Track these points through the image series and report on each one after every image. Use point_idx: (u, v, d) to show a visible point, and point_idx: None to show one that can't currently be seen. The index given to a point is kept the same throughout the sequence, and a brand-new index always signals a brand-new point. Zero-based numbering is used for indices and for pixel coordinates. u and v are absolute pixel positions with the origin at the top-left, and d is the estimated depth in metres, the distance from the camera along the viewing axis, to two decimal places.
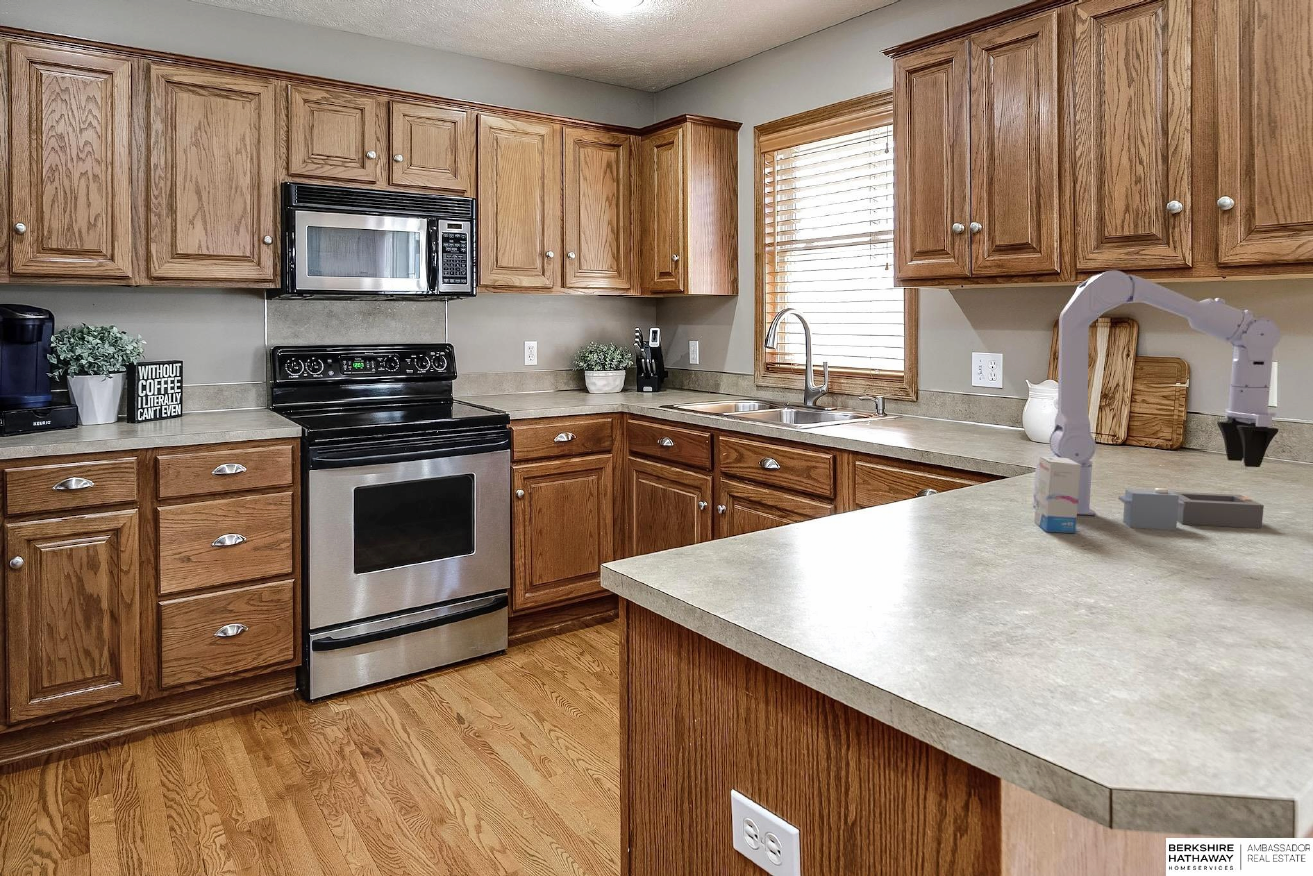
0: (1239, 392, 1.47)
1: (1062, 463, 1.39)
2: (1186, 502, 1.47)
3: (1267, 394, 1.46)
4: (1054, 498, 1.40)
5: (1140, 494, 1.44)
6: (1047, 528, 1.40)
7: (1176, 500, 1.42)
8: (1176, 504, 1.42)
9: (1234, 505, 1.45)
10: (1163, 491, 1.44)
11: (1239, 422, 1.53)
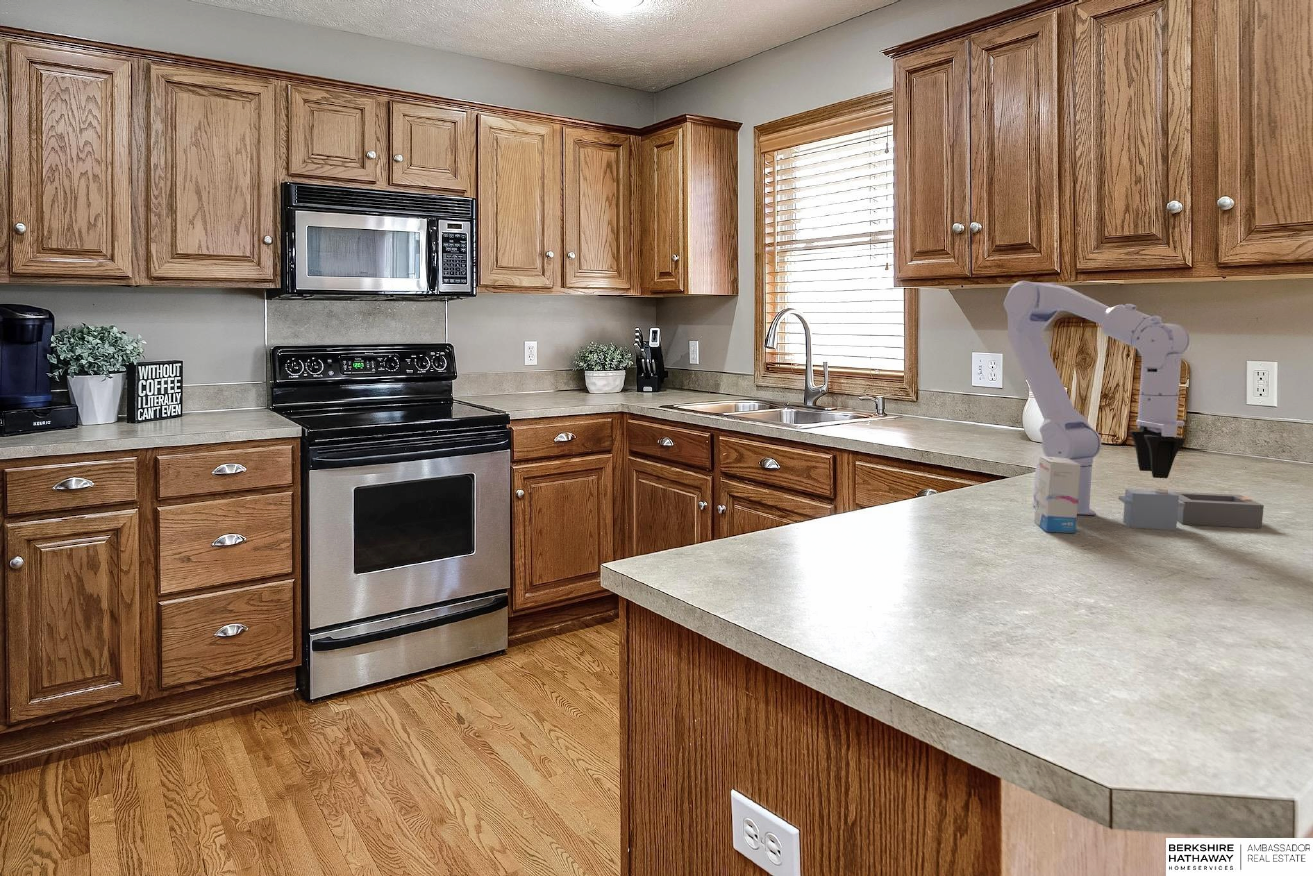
0: (1147, 400, 1.42)
1: (1062, 463, 1.39)
2: (1186, 502, 1.47)
3: (1175, 402, 1.41)
4: (1054, 498, 1.40)
5: (1140, 494, 1.44)
6: (1047, 528, 1.40)
7: (1176, 500, 1.42)
8: (1176, 504, 1.42)
9: (1234, 505, 1.45)
10: (1163, 491, 1.44)
11: (1150, 431, 1.48)
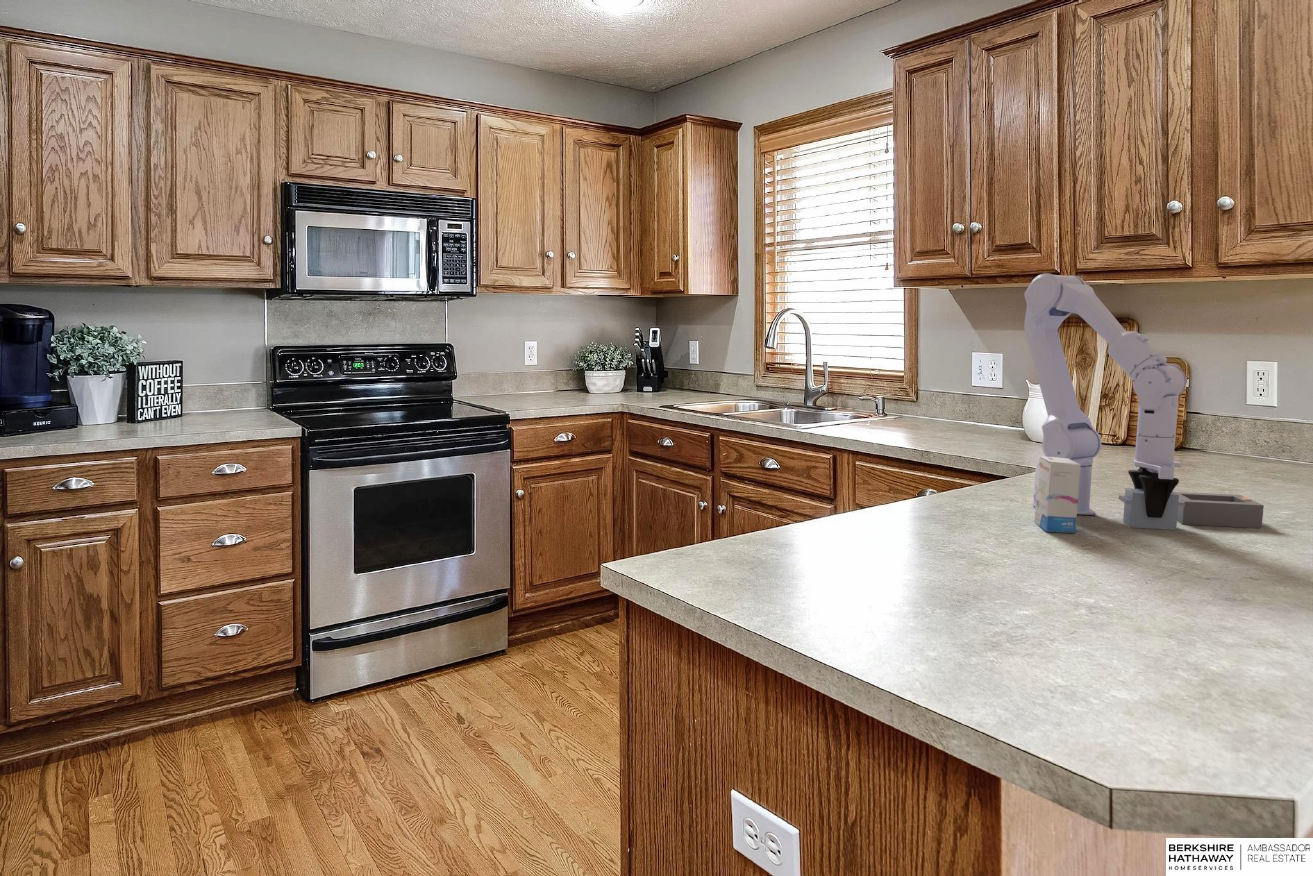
0: (1144, 441, 1.43)
1: (1062, 463, 1.39)
2: (1186, 502, 1.47)
3: (1172, 444, 1.42)
4: (1054, 498, 1.40)
5: (1140, 493, 1.44)
6: (1047, 528, 1.40)
7: (1176, 499, 1.42)
8: (1176, 503, 1.42)
9: (1234, 505, 1.45)
10: None
11: (1149, 472, 1.47)
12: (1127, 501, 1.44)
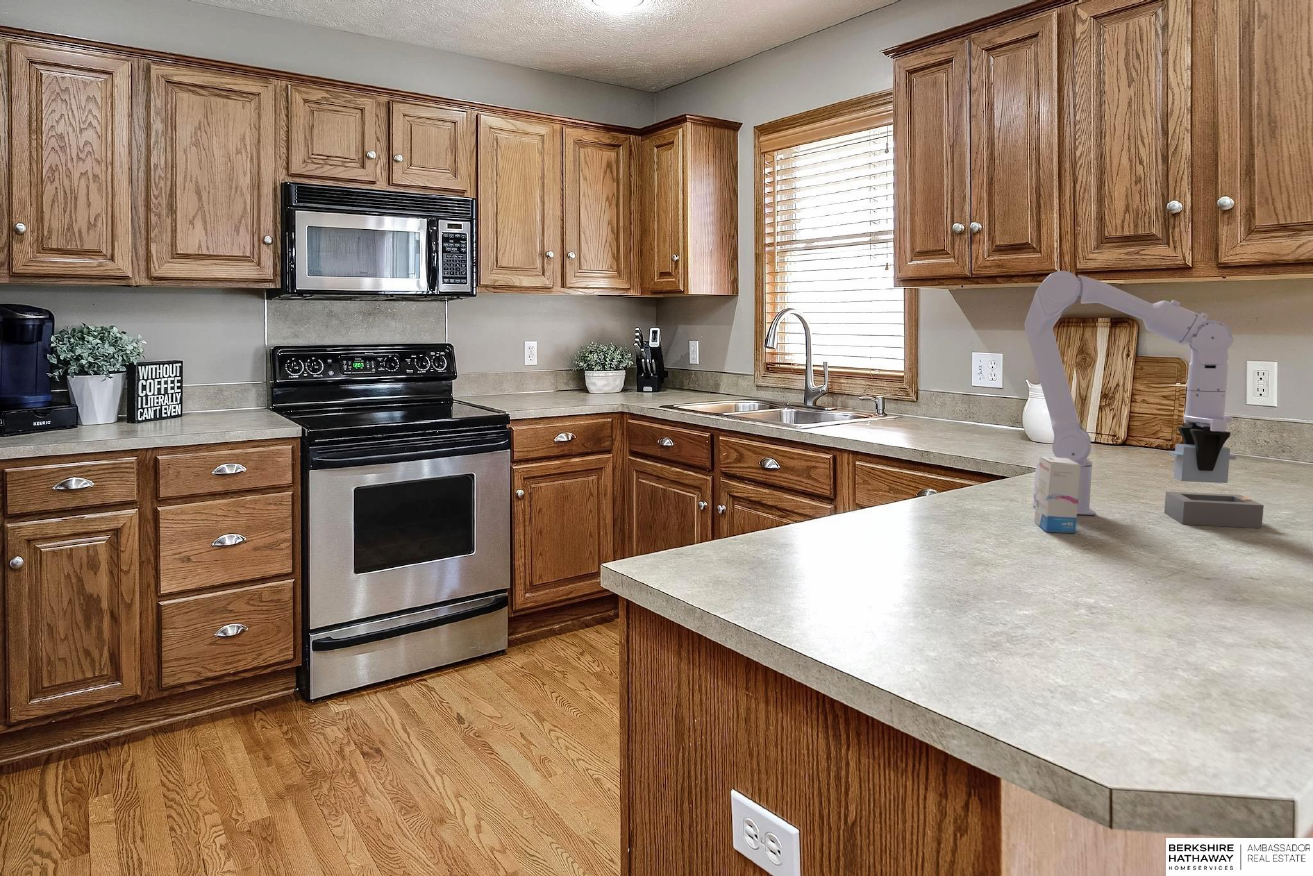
0: (1195, 396, 1.45)
1: (1062, 463, 1.39)
2: (1186, 502, 1.47)
3: (1223, 398, 1.44)
4: (1054, 498, 1.40)
5: (1191, 448, 1.46)
6: (1047, 528, 1.40)
7: (1227, 453, 1.45)
8: (1227, 457, 1.45)
9: (1234, 505, 1.45)
10: None
11: (1199, 427, 1.50)
12: (1178, 455, 1.47)
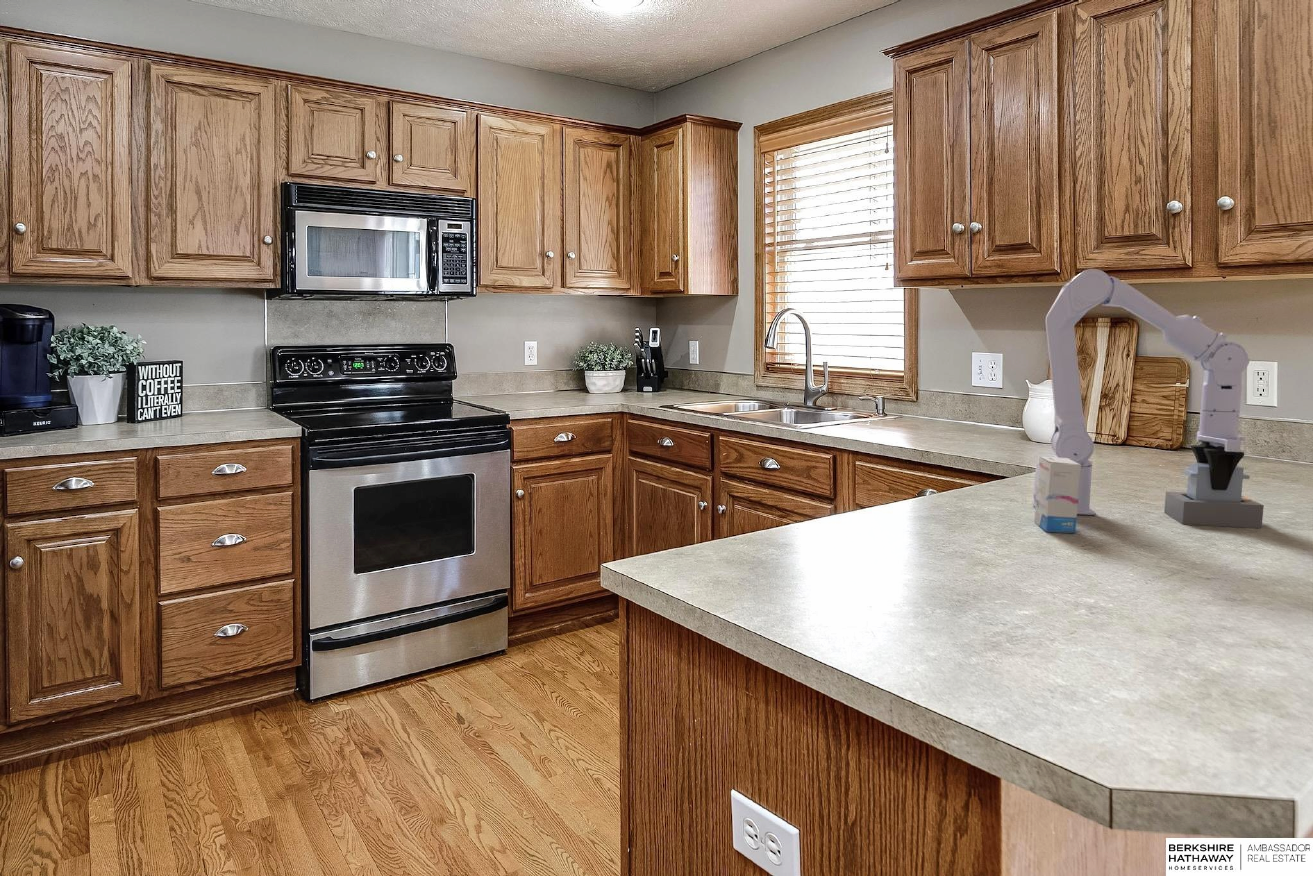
0: (1209, 416, 1.47)
1: (1062, 463, 1.39)
2: (1186, 502, 1.47)
3: (1237, 418, 1.46)
4: (1054, 498, 1.40)
5: (1205, 467, 1.48)
6: (1047, 528, 1.40)
7: (1241, 472, 1.46)
8: (1241, 476, 1.47)
9: (1234, 505, 1.45)
10: None
11: (1213, 446, 1.51)
12: (1192, 474, 1.48)
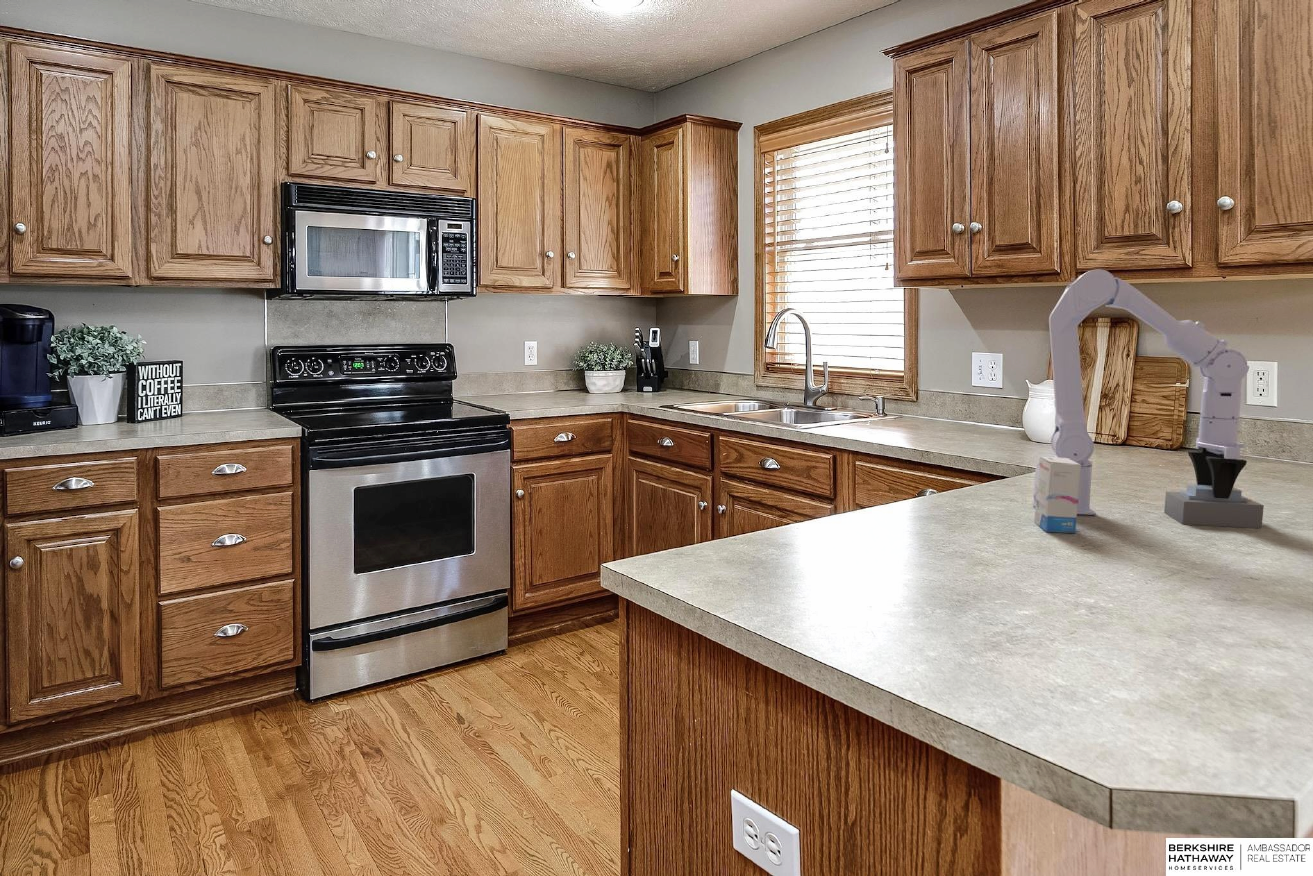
0: (1208, 423, 1.47)
1: (1062, 463, 1.39)
2: (1186, 502, 1.47)
3: (1236, 425, 1.46)
4: (1054, 498, 1.40)
5: (1203, 489, 1.48)
6: (1047, 528, 1.40)
7: (1239, 495, 1.47)
8: (1239, 499, 1.47)
9: (1234, 505, 1.45)
10: None
11: (1209, 452, 1.53)
12: (1191, 497, 1.49)
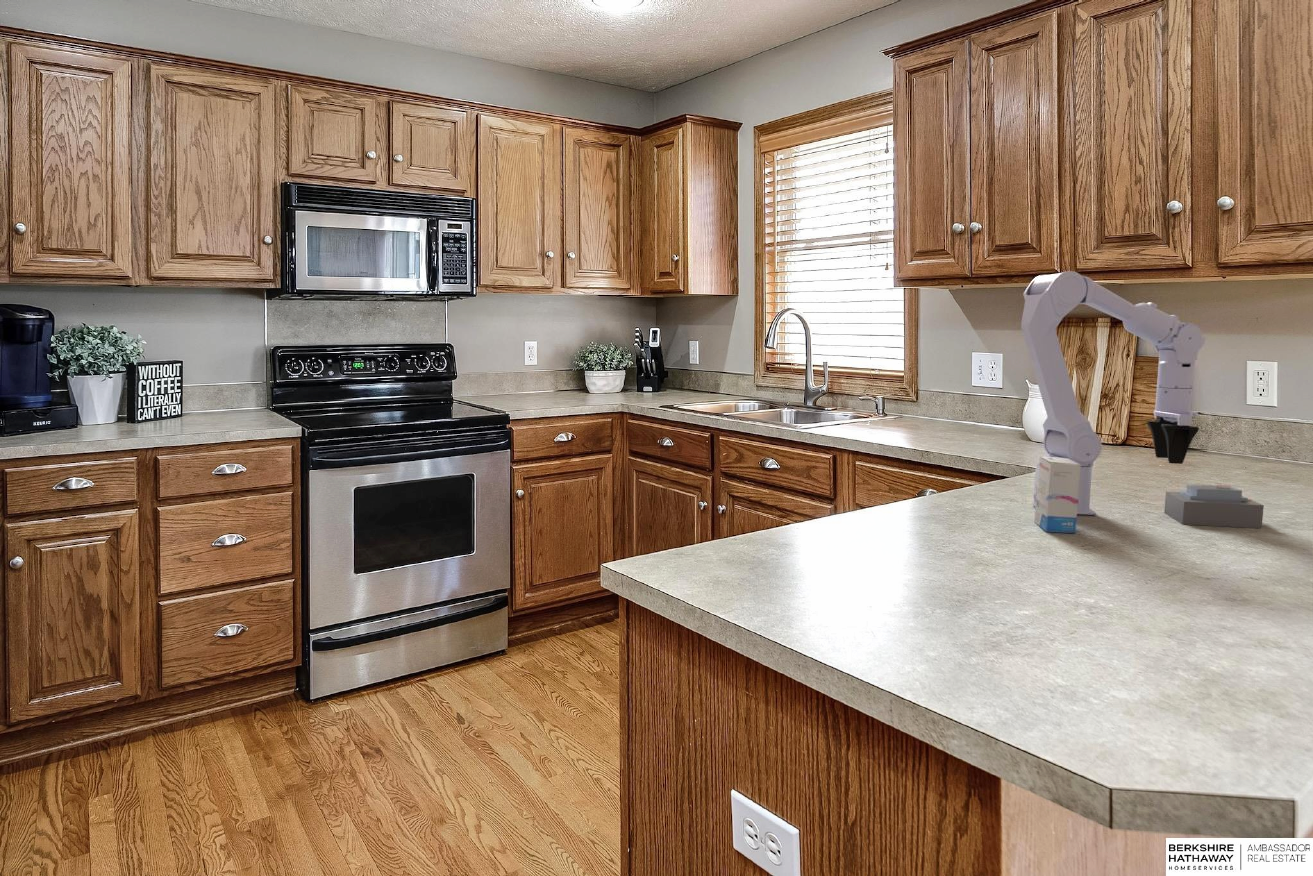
0: (1164, 393, 1.56)
1: (1062, 463, 1.39)
2: (1186, 502, 1.47)
3: (1190, 395, 1.54)
4: (1054, 498, 1.40)
5: (1204, 490, 1.48)
6: (1047, 528, 1.40)
7: (1239, 495, 1.47)
8: (1239, 499, 1.47)
9: (1234, 505, 1.45)
10: (1226, 486, 1.48)
11: (1166, 421, 1.61)
12: (1192, 497, 1.49)
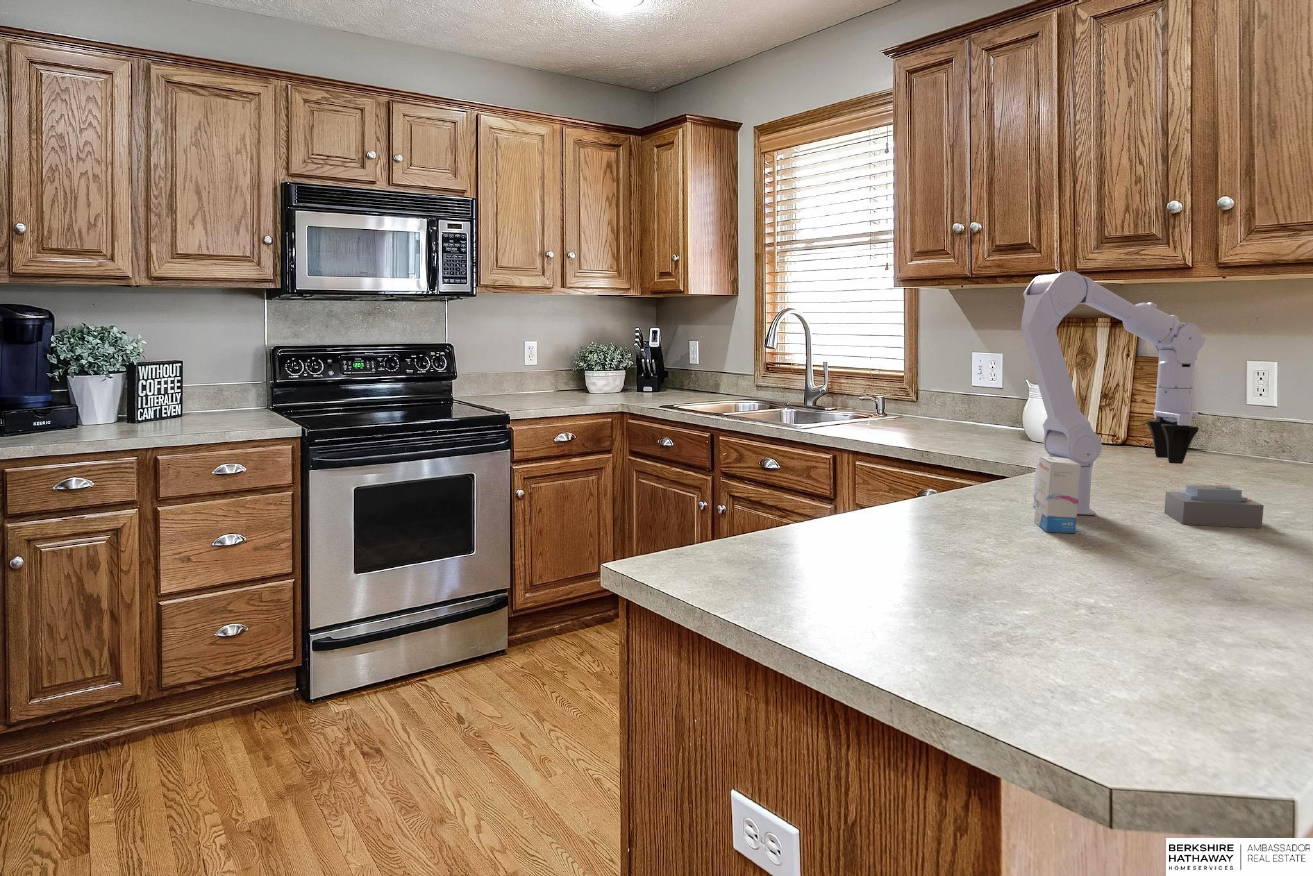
0: (1164, 393, 1.56)
1: (1062, 463, 1.39)
2: (1186, 502, 1.47)
3: (1189, 395, 1.54)
4: (1054, 498, 1.40)
5: (1205, 490, 1.48)
6: (1047, 528, 1.40)
7: (1239, 495, 1.47)
8: (1239, 499, 1.47)
9: (1234, 505, 1.45)
10: (1226, 486, 1.49)
11: (1166, 421, 1.61)
12: (1192, 497, 1.48)
